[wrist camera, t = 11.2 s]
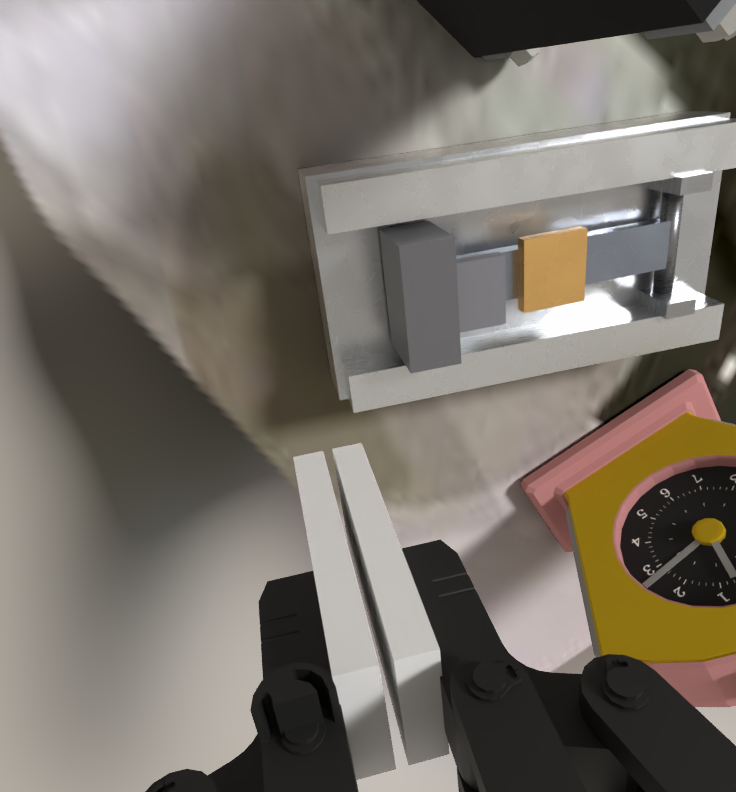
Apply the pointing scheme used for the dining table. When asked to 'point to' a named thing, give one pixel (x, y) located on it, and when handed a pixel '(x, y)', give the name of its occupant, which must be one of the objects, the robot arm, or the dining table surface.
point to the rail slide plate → (500, 227)
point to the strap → (590, 258)
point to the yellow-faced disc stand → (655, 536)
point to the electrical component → (574, 22)
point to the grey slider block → (437, 294)
